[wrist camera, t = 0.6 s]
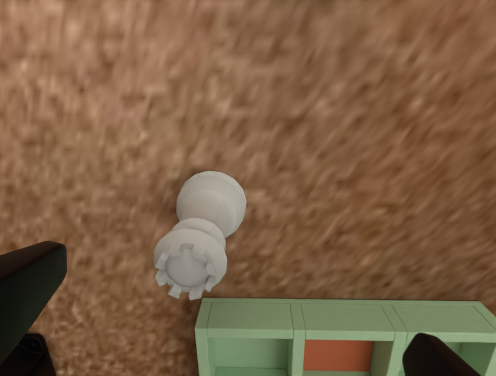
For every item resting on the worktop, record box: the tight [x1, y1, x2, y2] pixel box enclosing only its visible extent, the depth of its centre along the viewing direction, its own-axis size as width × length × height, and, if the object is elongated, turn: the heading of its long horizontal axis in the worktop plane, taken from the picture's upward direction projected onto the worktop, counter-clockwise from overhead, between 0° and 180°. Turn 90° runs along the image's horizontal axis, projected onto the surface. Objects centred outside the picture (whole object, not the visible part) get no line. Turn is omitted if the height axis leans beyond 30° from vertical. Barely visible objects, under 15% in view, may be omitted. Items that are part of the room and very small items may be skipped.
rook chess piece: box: [154, 171, 247, 300], centre depth 16 cm, size 4×4×8 cm
